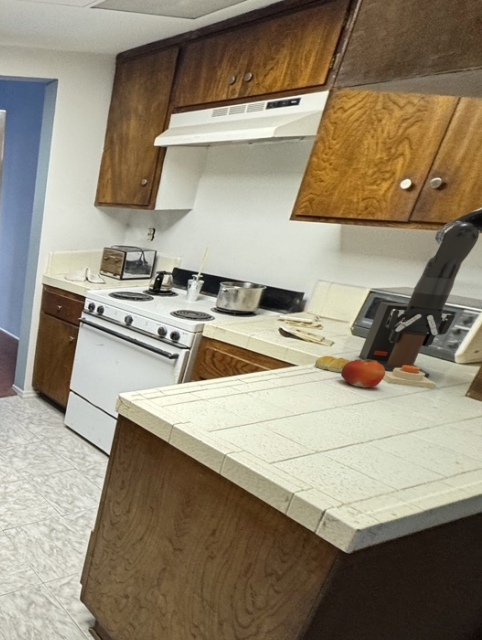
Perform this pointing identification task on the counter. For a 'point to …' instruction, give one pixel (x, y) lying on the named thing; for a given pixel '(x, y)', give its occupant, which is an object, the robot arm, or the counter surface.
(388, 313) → the dark grey orange-tab panel
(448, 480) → the counter surface
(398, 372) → the switch block
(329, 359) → the bread roll
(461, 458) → the counter surface
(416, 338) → the brown wooden block
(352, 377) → the tomato
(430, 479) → the counter surface
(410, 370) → the power button
